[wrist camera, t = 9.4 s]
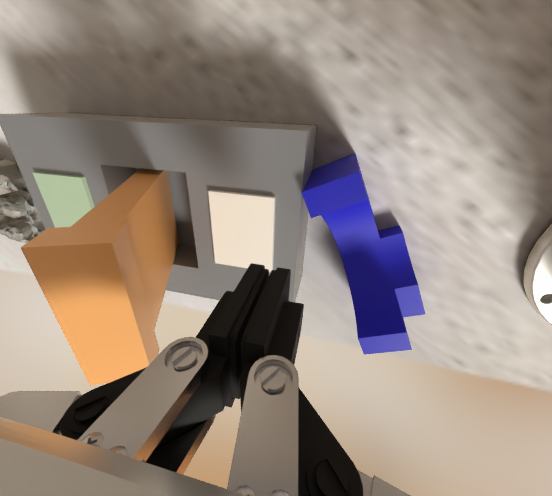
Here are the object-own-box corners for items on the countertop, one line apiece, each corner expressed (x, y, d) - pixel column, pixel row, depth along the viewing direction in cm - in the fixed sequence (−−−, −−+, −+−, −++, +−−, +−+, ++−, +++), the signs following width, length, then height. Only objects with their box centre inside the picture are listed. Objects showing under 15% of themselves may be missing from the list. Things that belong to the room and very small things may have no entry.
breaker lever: (172, 163, 18) (111, 242, 8) (184, 243, 21) (152, 376, 11) (135, 163, 18) (20, 248, 7) (153, 245, 21) (90, 385, 11)
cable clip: (415, 289, 21) (437, 347, 16) (359, 299, 23) (364, 354, 18) (378, 143, 17) (392, 159, 12) (313, 169, 19) (301, 192, 14)
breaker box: (316, 125, 17) (306, 131, 13) (302, 275, 23) (291, 316, 18) (67, 112, 21) (-10, 114, 16) (109, 244, 27) (60, 272, 22)
